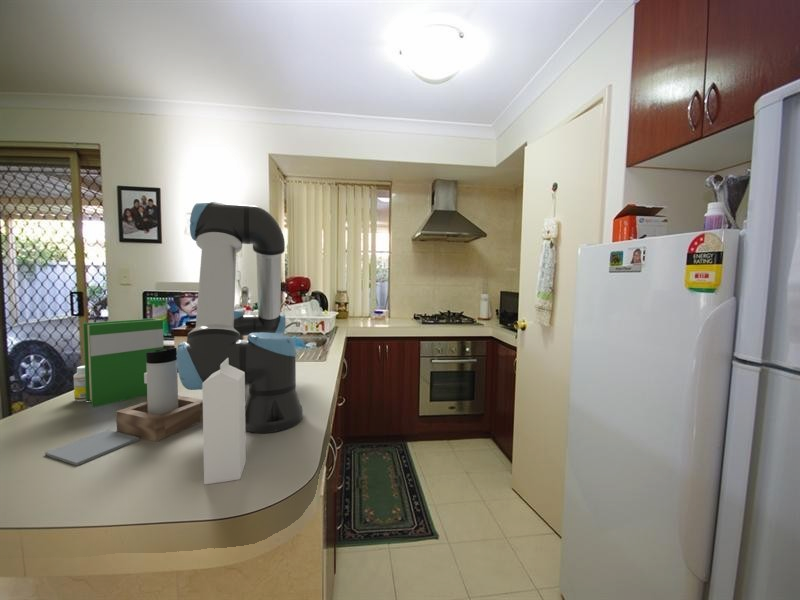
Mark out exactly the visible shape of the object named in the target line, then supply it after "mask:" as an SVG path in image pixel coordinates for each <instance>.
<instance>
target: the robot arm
mask: <svg viewBox="0 0 800 600" xmlns="http://www.w3.org/2000/svg"><path fill="white" fill-rule="evenodd" d="M189 222H190V225H189V233H190V237H191V239H192V240H193V241H195V243H196V246H197V247H199V249H201V256H200V268H199V269H200V270H199V280H198V281H199V282H198V291H197V293H198V294H197V303H196V304H197V307H196V318H195V327H194V328H193V329H192V330H190V331H189V332H188V333H187V336H186V337H187V338H186V341H182V342H179V343H178V345H177V347H176V348H177V374H178V377H179V380H180V383H181V384H182V386H183V387H184V388H185V389H186V390H189V391H197V390H198V391H200V390H202V383H203V382H204V381H205V380H206V379H207V378H208V377H209V376H211V375H212V374H213V373H215V372H216V371H218V370H220V365H221V363H223V362H224V361H225V360H226V359H227V358H229V365H230V366H233V367H235V368H237V369H239V370H241V371H243V372H245V386H248V396H247V399H246V401H245V432H246V431H247V432H250V433H255V434H256V433H257V434H268V433H269V434H271V433H277V432H280V431H284V430H288V429H290V428H292V427H294V426H296V425H298V424H299V423H300V422H301V421H302V420H303V415H304V414H303V409H304V408H303V406H302V405H301V402H300V398H299V395H298V391H297V381H296V380H297V377H296V376H297V374H296V373H297V372H296V371H297V370H296V367H297V365H296V361H297V360H296V356H297V351H296V340H295V339H294V338H293V337H291V336H289V335H287V334H285V332H286V315H285V314H282V313H281V297H282V296H281V293H282V290H281V289H282V282H281V281H282V254H285V253H284V252H285V245H286V244H285V243H286V242H285V241H286V240H285V237H284V234H283V231H282V229H281V227H280V224H279V222H277V220H276V219H275V218H274V217H273V215H272V214H270V213H269V212H268V211H267V210H265V209H263V208H262V207H260V206H257V205H254V204H253V205H252V204H249V205H248V204H239V203H227V202H220V201H219V202H217V201H214V200H210V201H208V200H207V201H204V200H202V201H198V202H196V203H195V204H194V206H193V207H192V210H191V212H190V219H189ZM245 244H246V245H252V250H253V251H252V252H254V253H255V254H256V282H257V283H256V284H257V285H256V288H257V314H244V311H243V310H241V309H235V300H236V297H235V296H236V273H237V272H236V270H237V269H236V268H237V254H238V253H239V252H240V251H242V248H243V245H245ZM245 336H247V338H245V339H244V337H245ZM144 383H147V373H144Z"/></svg>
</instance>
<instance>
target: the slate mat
mask: <svg viewBox="0 0 800 600" xmlns="http://www.w3.org/2000/svg"><path fill="white" fill-rule="evenodd" d="M138 441H139V437H137V436H133V435H129V434H125V433H121V432H117V431H114V430H110V429H106V430H103V431H101V432H98V433H95V434H93V435H90V436H87V437H84V438H81V439H78V440H74V441H73V442H70V443H67V444H65V445H61V446H59V447H56V448H53V449H51V450H48V451H45V452H44V456H46V455H47V456H46V457H49V458H53V459H56V460H58V459H59V461H61V460H62V461H61V462H64V463H67V462H68V464H71V465H73V466H80V465H82V464H85V463H88V462H89V461H91V460H94V459H96V458H99V457H102V456H103V455H105V454H108V453H111V452H113V451H115V450H118V449H120V448H122V447H126V446H127V445H131V444H132V443H135V442H138Z"/></svg>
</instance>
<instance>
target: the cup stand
mask: <svg viewBox="0 0 800 600" xmlns="http://www.w3.org/2000/svg"><path fill="white" fill-rule="evenodd" d="M115 416H116V419H115V420H116V432H119V433H123V434H126V435H130V436H134V437H138V438H142V439H145V440H150V441H152V442H159V441H161V440H163V439H165V438H168V437H170V436H172V435H174V434H176V433H179V432H182V431H183V430H185V429H188V428H190V427H192V426H195V425H197V424H199V423H201V422H203V399H200V398H195V397H191V396H190V397H189V396H185V395H184V396H182V395H179V394H178V409H175V410H172V411H170V412H167V413H164V414H162V415H154V414H149V413H148V402H147V401H144V402H141V403H138V404H136V405H132V406H128V407H125V408H123V409H119V410H116V411H115Z"/></svg>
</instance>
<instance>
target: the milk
mask: <svg viewBox="0 0 800 600" xmlns="http://www.w3.org/2000/svg"><path fill="white" fill-rule="evenodd" d="M201 390H202V391H201V392H202V400H203V421H202V432H203V433H202V435H203V437H202V438H203V440H202V441H203V445H202V446H203V484H204V485H212V484H217V483H224V482H226V483H227V482H230V481H239V480H240V479H241V477H242V474H243V471H244V469H245V466H246V463H247V462H246V461H247V460H246V459H247V456H246V455H247V453H246V451H247V449H246V447H247V446H246V443H247V442H246V440H247V439H246V436H247V435H246V430H245V405H246V385H245V372H243V371H241V370H239V369H237V368H235V367H233V366H230V365H229V358H227V359H226V360H225V361H224V362H223V363H221V365H220V370H218V371H216V372H215V373H213V374H212V375H211V376H209V377H208V378H207V379H206V380H205V381H204V382H203V383H202V389H201Z"/></svg>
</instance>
